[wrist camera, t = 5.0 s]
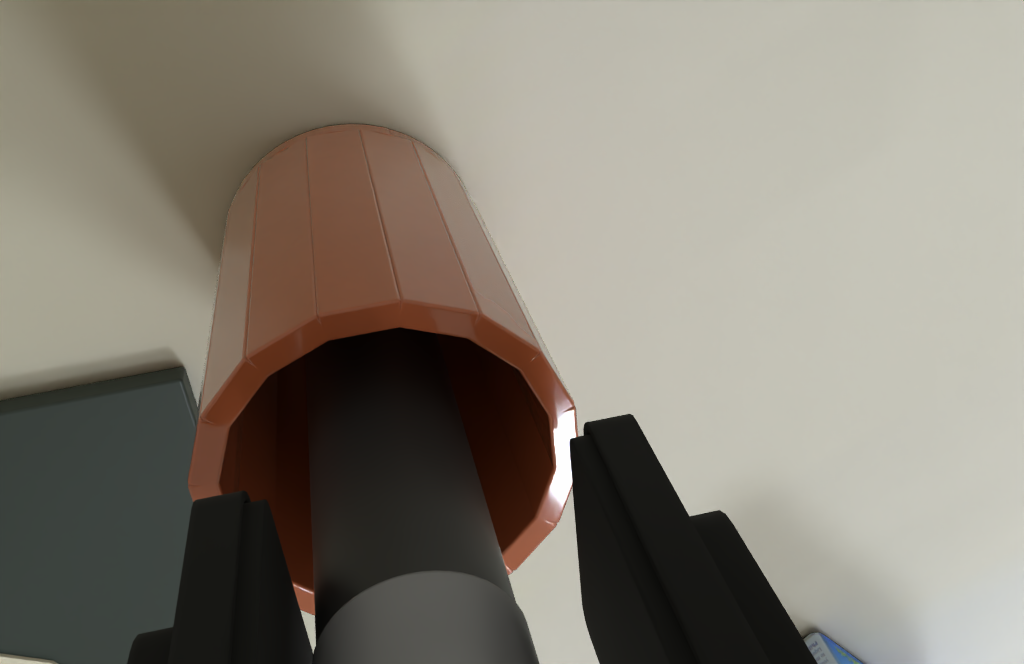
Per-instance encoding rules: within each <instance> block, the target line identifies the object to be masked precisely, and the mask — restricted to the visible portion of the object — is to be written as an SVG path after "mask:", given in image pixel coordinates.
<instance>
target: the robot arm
mask: <svg viewBox="0 0 1024 664" xmlns="http://www.w3.org/2000/svg"><path fill="white" fill-rule="evenodd" d="M569 449H570V461H571V473H572V486H573V498H574V510H575V522H576V534H577V546H578V559H579V571H580V583H581V595H582V605H583V611H584V616H585V621H586V625H587V628H588V632H589V635H590V638H591V641H592V643H593V646H594V649H595V652H596V655H597V658H598V660H599V663H600V664H818V663H817V662H816V660H815V658H814V657H813V655H812V653H811V652H810V650H809V648H808V647H807V645H806V643H805V642H804V640H803V638H802V637H801V635H800V634H799V632H798V630H797V629H796V627H795V625H794V624H793V622H792V620H791V619H790V617H789V615H788V614H787V612H786V610H785V609H784V607H783V606H782V604H781V602H780V601H779V599H778V597H777V596H776V594H775V592H774V591H773V589H772V587H771V586H770V584H769V582H768V581H767V579H766V578H765V576H764V574H763V573H762V571H761V569H760V568H759V566H758V564H757V563H756V561H755V559H754V558H753V556H752V555H751V553H750V551H749V550H748V548H747V546H746V545H745V543H744V541H743V540H742V538H741V536H740V535H739V533H738V531H737V530H736V528H735V527H734V525H733V523H732V522H731V521H730V519H729V518H728V517H727V515H726V514H725V513H723V512H721V511H720V510H718V511H713V512H709V513H704V514H699V515H695V516H690V517H689V515H688V513H687V511H686V510H685V508H684V506H683V504H682V502H681V501H680V499H679V497H678V495H677V493H676V492H675V490H674V488H673V486H672V484H671V482H670V481H669V479H668V477H667V475H666V473H665V472H664V470H663V468H662V466H661V464H660V463H659V461H658V459H657V457H656V455H655V454H654V452H653V450H652V448H651V446H650V444H649V443H648V441H647V439H646V437H645V435H644V434H643V432H642V430H641V428H640V426H639V425H638V423H637V421H636V419H635V418H634V416H633V415H631V414H627V415H622V416H617V417H612V418H606V419H601V420H596V421H591V422H586V423H585V424H584V436H579V437H574V438H571V439H570V442H569ZM312 660H313V652H312V649H311V645H310V642H309V638H308V635H307V631H306V628H305V625H304V621H303V618H302V614H301V611H300V608H299V604H298V601H297V597H296V594H295V591H294V587H293V584H292V580H291V577H290V573H289V570H288V567H287V563H286V560H285V556H284V553H283V550H282V546H281V543H280V539H279V536H278V532H277V529H276V526H275V522H274V519H273V515H272V512H271V509H270V506H269V503H268V501H267V500H266V499H264V500H259V501H254V502H251V500H250V497H249V495H248V493H247V492H246V491H244V490H243V491H238V492H233V493H228V494H223V495H217V496H212V497H207V498H202V499H197V500H195V501H194V502H193V505H192V508H191V515H190V521H189V528H188V534H187V541H186V547H185V554H184V560H183V567H182V573H181V580H180V586H179V593H178V599H177V606H176V612H175V619H174V625H173V627H170V628H165V629H161V630H156V631H151V632H147V633H142V634H138V635H137V637H136V638H135V639H134V641H133V643H132V646H131V650H130V653H129V657H128V662H127V664H312Z"/></svg>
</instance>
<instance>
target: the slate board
mask: <svg viewBox="0 0 1024 664" xmlns="http://www.w3.org/2000/svg"><path fill="white" fill-rule="evenodd" d="M197 412H198V407H197V404H196V401H195V398H194V395H193V391H192V388H191V385H190V382H189V379H188V376H187V373H186V369H185V368H184V367H178V368H173V369H167V370H162V371H157V372H151V373H146V374H141V375H135V376H130V377H125V378H119V379H114V380H109V381H103V382H98V383H93V384H87V385H82V386H77V387H71V388H66V389H61V390H55V391H50V392H45V393H40V394H34V395H29V396H24V397H18V398H13V399H8V400H2V401H0V664H127V662H128V657H129V653H130V650H131V646H132V643H133V641H134V639H135V638H136V637H137V635H138V634H142V633H147V632H151V631H156V630H161V629H165V628H170V627H173V625H174V619H175V612H176V606H177V599H178V593H179V586H180V580H181V573H182V567H183V560H184V554H185V547H186V541H187V534H188V528H189V521H190V515H191V508H192V505H193V501H192V498H191V495H190V492H189V489H188V482H187V480H188V473H189V466H190V459H191V453H192V446H193V439H194V432H195V426H196V419H197Z"/></svg>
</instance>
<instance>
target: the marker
mask: <svg viewBox="0 0 1024 664" xmlns="http://www.w3.org/2000/svg"><path fill="white" fill-rule="evenodd" d="M305 366H306V392H307V418H308V444H309V471H310V497H311V523H312V549H313V576H314V602H315V628H316V647H315V650H314V654H313V660H312V664H539V661H538V658H537V654H536V651H535V648H534V644H533V641H532V638H531V635H530V631H529V628H528V625H527V622H526V619H525V617H524V614H523V612H522V611H521V609H520V608H519V606H518V605H517V603H516V601H515V597H514V594H513V591H512V587H511V584H510V581H509V577H508V574H507V570H506V567H505V564H504V560H503V557H502V554H501V550H500V547H499V544H498V540H497V537H496V533H495V530H494V527H493V523H492V520H491V517H490V513H489V510H488V506H487V503H486V500H485V496H484V493H483V490H482V486H481V483H480V479H479V476H478V473H477V469H476V466H475V463H474V459H473V456H472V452H471V449H470V446H469V442H468V439H467V436H466V432H465V429H464V425H463V422H462V419H461V415H460V412H459V409H458V405H457V402H456V399H455V395H454V392H453V388H452V385H451V382H450V378H449V375H448V372H447V368H446V365H445V361H444V358H443V355H442V351H441V348H440V345H439V341H438V338H437V334H436V333H431V332H425V331H419V330H413V329H407V328H401V327H398V328H393V329H388V330H382V331H377V332H372V333H367V334H361V335H356V336H351V337H345V338H340V339H335V340H329V341H327V342H326V343H324V344H322V345H321V346H319V347H317V348H315V349H314V350H312V351H310V352H309V353H307V354H305Z"/></svg>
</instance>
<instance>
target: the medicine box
mask: <svg viewBox="0 0 1024 664" xmlns="http://www.w3.org/2000/svg"><path fill="white" fill-rule="evenodd" d="M803 640H804V642H805V643H806V645H807V647H808V648H809V650H810V652H811V653H812V655H813V657H814V658H815V660H816V662H817V663H818V664H863V663H862V662H860V661H859V660H858V659H856V658H855V657H854V656H852V655H851V654H849V653H848V652H847V651H845V650H844V649H843V648H841V647H840V646H838V645H837V644H836V643H834V642H833V641H832V640H830V639H829V638H827V637H826V636H824V635H823V634H821V633H811V634H809V635H808V636H807V637H806V638H804V639H803Z"/></svg>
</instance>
